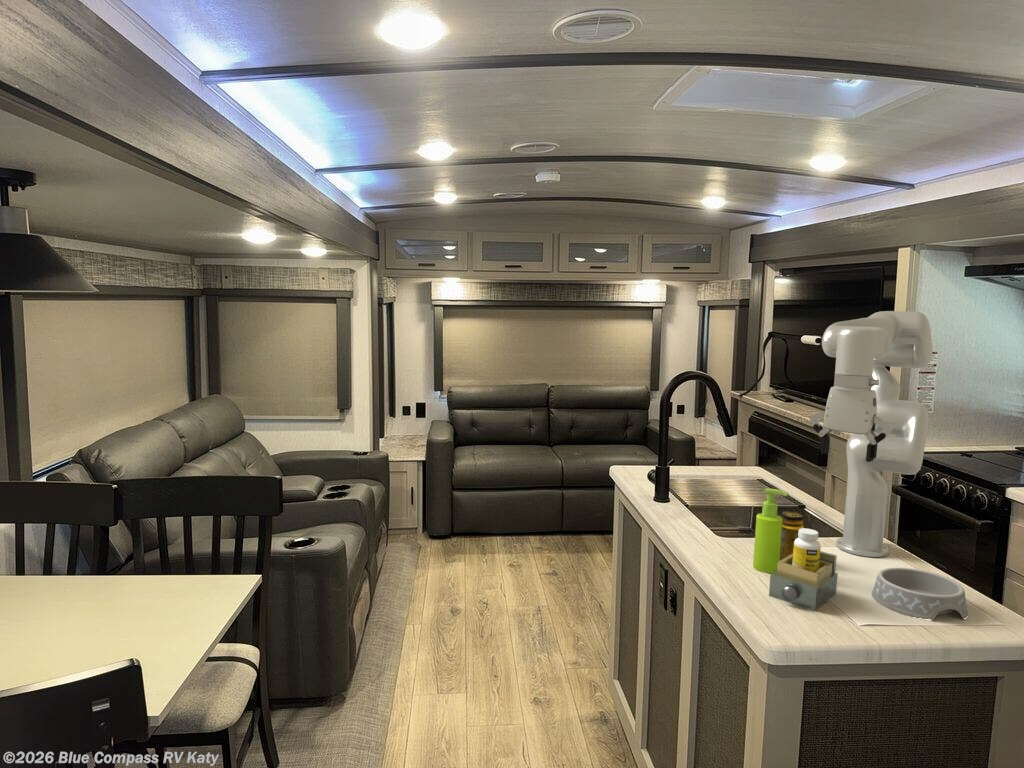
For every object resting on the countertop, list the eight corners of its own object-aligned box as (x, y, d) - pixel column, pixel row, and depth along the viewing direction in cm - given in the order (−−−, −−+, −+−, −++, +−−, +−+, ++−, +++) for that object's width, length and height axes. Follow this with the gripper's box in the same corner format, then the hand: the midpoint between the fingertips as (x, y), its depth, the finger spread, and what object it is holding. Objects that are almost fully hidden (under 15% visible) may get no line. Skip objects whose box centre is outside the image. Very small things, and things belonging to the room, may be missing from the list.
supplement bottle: (805, 580, 141) (808, 536, 140) (786, 570, 146) (789, 528, 145) (823, 576, 143) (827, 533, 142) (804, 567, 148) (807, 525, 147)
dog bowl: (854, 588, 150) (856, 566, 150) (926, 586, 153) (929, 564, 152) (908, 624, 133) (910, 599, 133) (988, 620, 136) (991, 595, 135)
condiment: (807, 565, 163) (810, 518, 162) (773, 563, 164) (776, 517, 162) (796, 554, 171) (800, 510, 169) (763, 553, 171) (766, 508, 170)
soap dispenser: (779, 576, 156) (785, 494, 154) (750, 568, 160) (755, 489, 158) (785, 568, 160) (791, 489, 158) (757, 561, 165) (762, 484, 162)
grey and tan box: (791, 580, 153) (794, 544, 152) (836, 594, 146) (839, 556, 145) (764, 598, 143) (767, 558, 142) (811, 613, 136) (814, 572, 135)
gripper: (900, 385, 143) (894, 461, 145) (819, 378, 155) (814, 448, 157) (890, 387, 138) (883, 466, 140) (806, 380, 150) (801, 453, 152)
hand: (846, 457), depth 148 cm, fingers open, 9 cm apart
